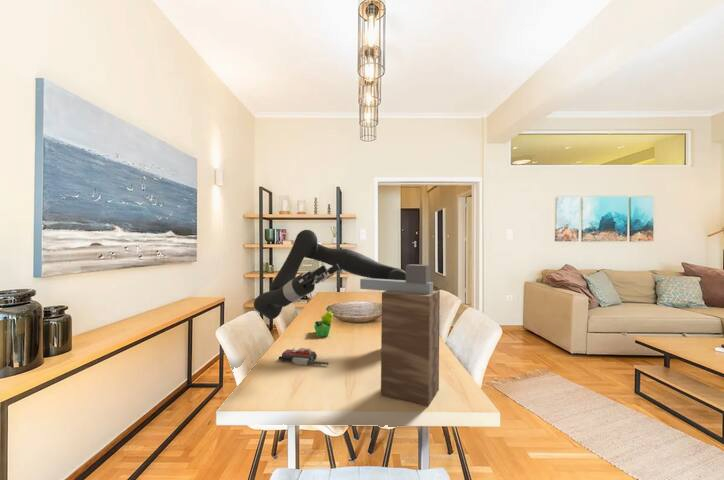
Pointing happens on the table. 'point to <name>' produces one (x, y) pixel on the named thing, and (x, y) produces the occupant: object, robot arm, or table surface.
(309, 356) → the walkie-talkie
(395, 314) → the walnut stand
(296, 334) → the table surface
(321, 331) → the green potted plant
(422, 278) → the gray l-shaped block
